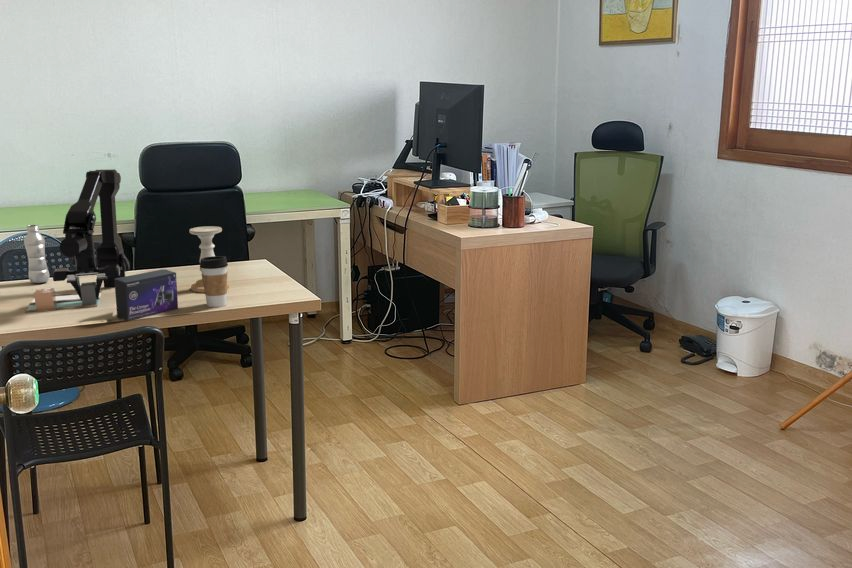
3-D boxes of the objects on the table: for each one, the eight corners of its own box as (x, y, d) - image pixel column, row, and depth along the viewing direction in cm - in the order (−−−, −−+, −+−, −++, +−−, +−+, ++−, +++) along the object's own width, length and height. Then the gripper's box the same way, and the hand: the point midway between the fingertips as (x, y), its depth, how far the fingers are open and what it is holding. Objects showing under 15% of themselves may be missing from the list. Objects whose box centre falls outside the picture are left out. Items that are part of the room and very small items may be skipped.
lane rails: (102, 295, 270) (101, 290, 269) (97, 310, 252) (96, 305, 251) (35, 300, 264) (34, 295, 264) (25, 316, 246) (24, 311, 246)
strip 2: (101, 295, 268) (100, 288, 268) (100, 301, 262) (99, 293, 261) (34, 301, 263) (33, 293, 262) (30, 306, 256) (29, 298, 256)
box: (128, 321, 240) (124, 281, 237) (116, 317, 244) (112, 278, 241) (179, 309, 252) (176, 271, 249) (167, 305, 257) (163, 268, 254)
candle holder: (236, 287, 277) (232, 228, 272) (205, 295, 268) (200, 233, 263) (214, 282, 285) (210, 224, 280) (183, 289, 276) (178, 229, 271)
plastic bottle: (42, 285, 284) (35, 227, 279) (25, 284, 285) (17, 227, 280) (54, 281, 290) (47, 224, 285) (37, 280, 291) (30, 223, 286)
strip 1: (100, 302, 260) (97, 280, 258) (98, 308, 253) (95, 286, 252) (30, 308, 254) (27, 286, 253) (26, 314, 248) (23, 291, 246)
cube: (56, 303, 255) (54, 288, 254) (54, 308, 251) (52, 292, 249) (38, 305, 254) (36, 289, 253) (36, 309, 249) (33, 293, 248)
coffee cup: (216, 309, 251) (212, 261, 247) (196, 306, 255) (192, 258, 252) (236, 303, 258) (233, 256, 254) (217, 300, 262) (213, 253, 259)
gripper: (118, 243, 262) (123, 291, 266) (54, 247, 257) (60, 296, 260) (116, 250, 251) (121, 299, 255) (49, 254, 246) (55, 305, 250)
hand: (89, 299), depth 255 cm, fingers closed on strip 1, 4 cm apart
